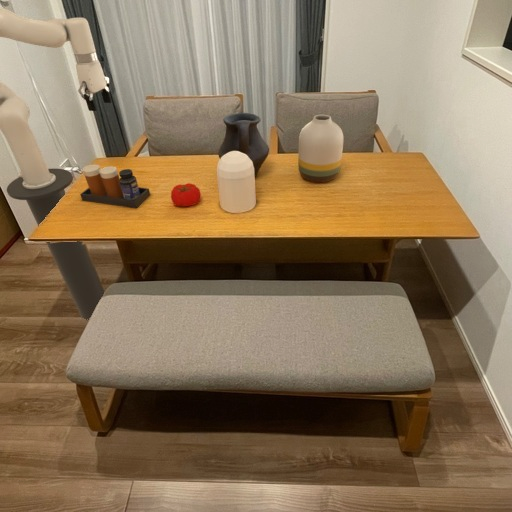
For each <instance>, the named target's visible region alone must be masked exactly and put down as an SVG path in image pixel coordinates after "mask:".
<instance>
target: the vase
mask: <svg viewBox="0 0 512 512" xmlns="http://www.w3.org/2000/svg"><path fill="white" fill-rule="evenodd" d="M343 148H344V134H343V130H342V129H341V127H340V126H339V124H337V123H336V122H335V121H333V120H332V116H331V115H328V114H317V115H314V116H313V118H312V120H311V121H310V122H308V123H307V124H305V125H304V126H303V127H302V128H301V131H300V133H299V136H298V154H297V155H298V156H297V157H298V158H297V159H298V160H297V164H298V165H297V167H298V172H299V174H300V175H301V177H302V178H303V179H305V180H306V181H308V182H312V183H325V182H329V181H333V180H334V179H335V178H336V177H337V176H339V173H340V171H341V166H342V159H343Z"/></svg>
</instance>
